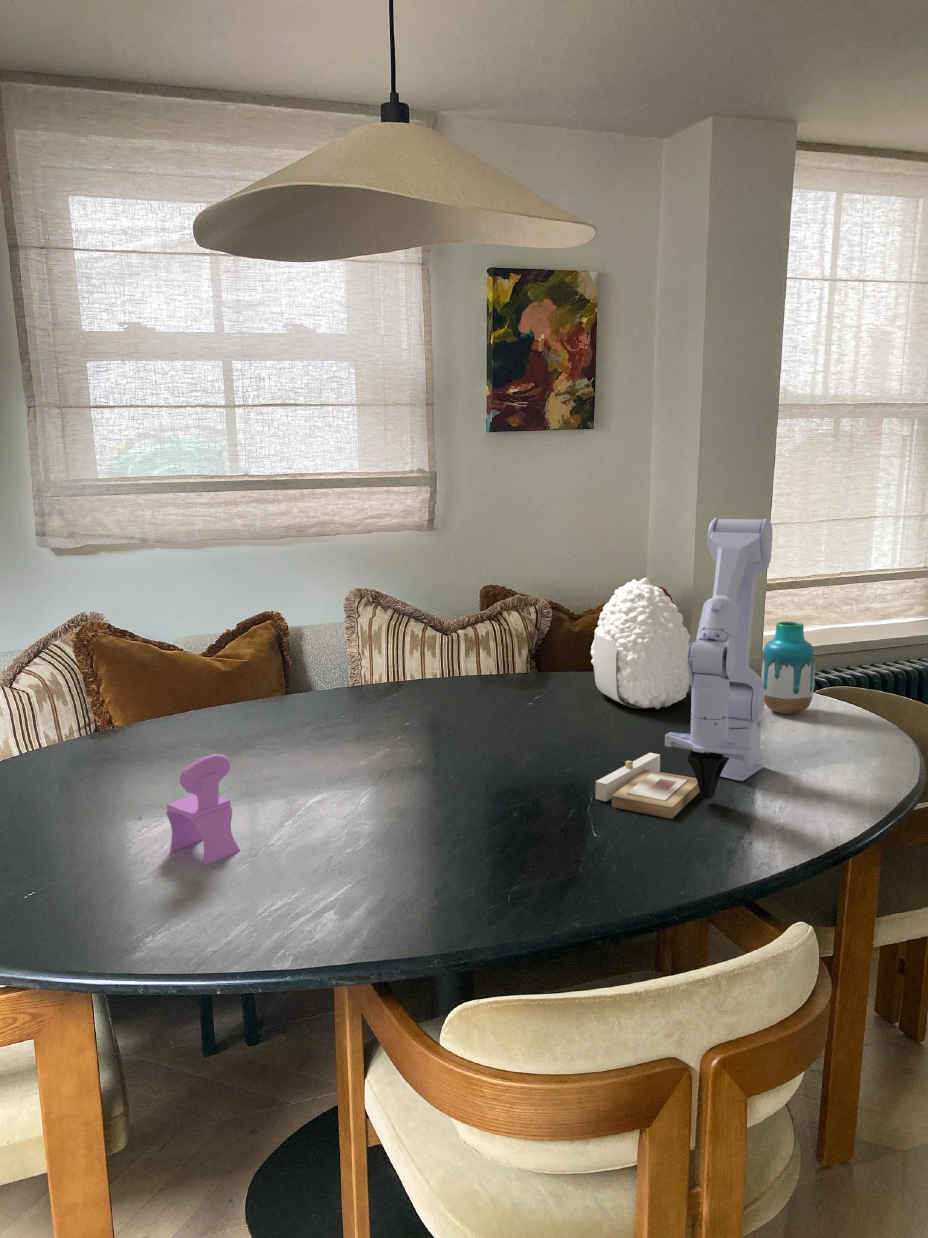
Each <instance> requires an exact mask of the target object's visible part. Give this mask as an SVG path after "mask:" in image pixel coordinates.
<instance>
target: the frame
mask: <svg viewBox="0 0 928 1238" xmlns="http://www.w3.org/2000/svg"><path fill="white" fill-rule="evenodd" d="M698 794H700V790H699V786H698V782H697V779H696V777H691V776H685V775H679V774H673V773H669V772H668V773H667V772H661V771H659V772H657V771H651V770H646V769H645V770H644V771H642V772H641V773H640V774H638V775H637V776H636V777H635V778H633V779H632V780H631V781H630V782H628V783H627V784H626V785H625V786H623V787H622V788H621V789H620V790H618V791H617V792H616V793H615V794H613V795H612V799H611V807H612V808H614V809H615V808H616V809H620V810H621V809H622V810H626V811H631V812H636V813H641V814H646V815H651V816H656V817H662V818H665V819H666V818H667V819H673V818H675V816H676V815H678V814H679V813H680V812H681V811H682V810H683V809H684V808H685V806H687V805H688V803H690V802H691V801H692V799H694V798H695V797H696V796H697V795H698Z"/></svg>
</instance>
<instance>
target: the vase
mask: <svg viewBox="0 0 928 1238" xmlns="http://www.w3.org/2000/svg"><path fill="white" fill-rule="evenodd" d="M804 633H805V632H804V624H803V623H802V622H798V621H792V620H791V621H790V620H789V621H778V622H777V623H775V633H774V634H775V635H774V637H773V639H771V640H769V641H768V642H766V644H765V646H764V647H763V652H762V659H761V660H762V661H761V675H760V677H761V678H762V680H763V683H764V705H765V706H766V707H767V709H769V710H771V711H773V712H775V713H776V712H777V713H779V714H787V715H788V714H789V715H790V714H799V713H802V712H804V711H806V710H807V709H808V708H809V707H810V705H811V703H812V701H813V697H814V689H815V679H816V677H815V675H816V658H815V657H816V655H815V649H814V647H813V645H812V644H811V643H810V642H808V641H807V640H806V638H805V635H804Z"/></svg>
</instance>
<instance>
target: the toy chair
mask: <svg viewBox="0 0 928 1238" xmlns="http://www.w3.org/2000/svg"><path fill="white" fill-rule="evenodd" d="M230 768H231V763H230V760H229V758H228V756H227V757H226V756H225V755H224V754H218V753H217V754H216V753H213V754H210V755H207V756H203V757H200V758H198V759H197V760H195V761H193V762H192V763H190V764H189V765H188V766H186V767H185V768H184V769H183V770H182V771H181V773H180V775H179V783H180V786H181V787H182V788H183V789H184V791H185V792H186V793H189V794H192V795H190V796H188V797H185V798H182V799H178V800H174V801H172V802H168V803H166V812H165V813H166V816H167V818H168V821H169V824H170V829H171V839H170V840H171V841H170V848H169V849H170V852H175V851H177V850H180V849H183V848H185V847H187V846H190V845H193V844H195V843H198V842H200V841H202V842H203V857H202V866H204V867H205V866H208V865H210V864H212V863H215V862H217V861H220V860H222V859H224V858H227V857H229V856H231V855H233V854H236V853H238V852H240V851H241V849H240V846H238V844H237V843H236V841H235V838H234V837H233V833H232V818H233V817H232V816H233V808H232V806H231V800H230V799H227V798H225V797H220V796H219V791H220V790H219V784H220V782H221V781H222V779H223V778H224V777H225V776H227V775H228V773H229V771H230Z"/></svg>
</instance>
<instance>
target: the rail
mask: <svg viewBox="0 0 928 1238" xmlns="http://www.w3.org/2000/svg"><path fill="white" fill-rule="evenodd" d="M645 769H646V770H651V771H657V772H661V754H658V753H656V752H655V753H653V752H648V753H647V754H645V755H641V757H639V758H636V759H635V760H633V761H632V760H626V761H625V765H624V766H621V767H620V768H618V769H616V770H614V771H613V772H611V773H609V774H607V775H605V776H603V777H601V778H600V779H597V780H596V781H595V799H596V800H599V801H603V802H608V801H611V800H612V795H613V794H615V793H616V792H617V791H618V790H620V789H621V788H622V787H623V786H625V785H626V784H627V783H628V782H630V781H631V780H632V779H633V778H635V777H636V776H637V775H638V774H640V773H641V772H642V771H644V770H645Z"/></svg>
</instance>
